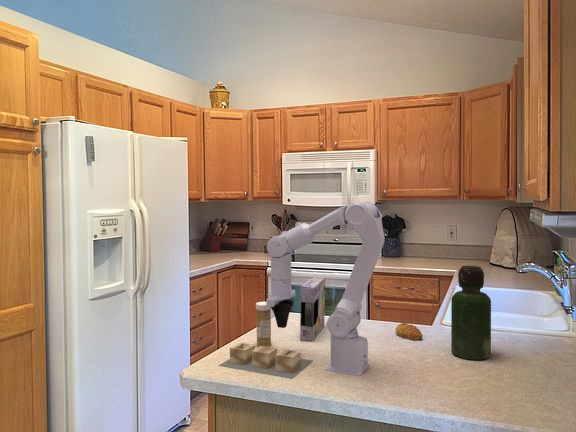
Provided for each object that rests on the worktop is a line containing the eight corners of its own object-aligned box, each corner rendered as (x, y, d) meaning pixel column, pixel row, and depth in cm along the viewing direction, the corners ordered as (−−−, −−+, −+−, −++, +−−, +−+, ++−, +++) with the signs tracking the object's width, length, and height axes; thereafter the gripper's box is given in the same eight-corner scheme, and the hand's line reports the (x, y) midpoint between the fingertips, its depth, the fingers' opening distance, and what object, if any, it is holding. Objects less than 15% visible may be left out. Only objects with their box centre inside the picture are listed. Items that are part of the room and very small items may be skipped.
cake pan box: (313, 342, 144) (313, 286, 143) (298, 341, 145) (297, 285, 145) (326, 326, 162) (325, 276, 162) (312, 325, 164) (311, 275, 163)
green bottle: (496, 354, 132) (496, 266, 131) (482, 363, 124) (482, 270, 123) (460, 346, 139) (460, 263, 138) (445, 355, 131) (445, 267, 130)
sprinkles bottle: (256, 345, 142) (255, 301, 142) (271, 344, 143) (270, 300, 143) (257, 349, 138) (256, 304, 138) (272, 348, 138) (271, 304, 138)
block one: (301, 366, 122) (300, 351, 122) (292, 373, 118) (292, 357, 118) (284, 363, 125) (283, 348, 124) (275, 370, 120) (275, 354, 120)
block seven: (255, 359, 129) (254, 344, 128) (245, 364, 124) (245, 349, 124) (239, 356, 131) (239, 342, 131) (229, 362, 126) (229, 347, 126)
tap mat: (314, 362, 127) (314, 360, 127) (292, 380, 114) (292, 378, 114) (245, 351, 136) (245, 350, 136) (217, 367, 124) (217, 365, 124)
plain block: (277, 362, 125) (277, 348, 125) (268, 368, 121) (268, 353, 121) (261, 360, 128) (261, 345, 128) (252, 366, 123) (251, 351, 123)
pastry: (428, 340, 146) (428, 328, 146) (410, 342, 144) (410, 330, 144) (409, 332, 155) (409, 321, 155) (392, 334, 152) (392, 323, 152)
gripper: (279, 274, 138) (280, 319, 138) (255, 282, 124) (256, 332, 125) (301, 275, 135) (302, 321, 135) (279, 283, 121) (280, 335, 122)
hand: (282, 327), depth 130 cm, fingers closed
